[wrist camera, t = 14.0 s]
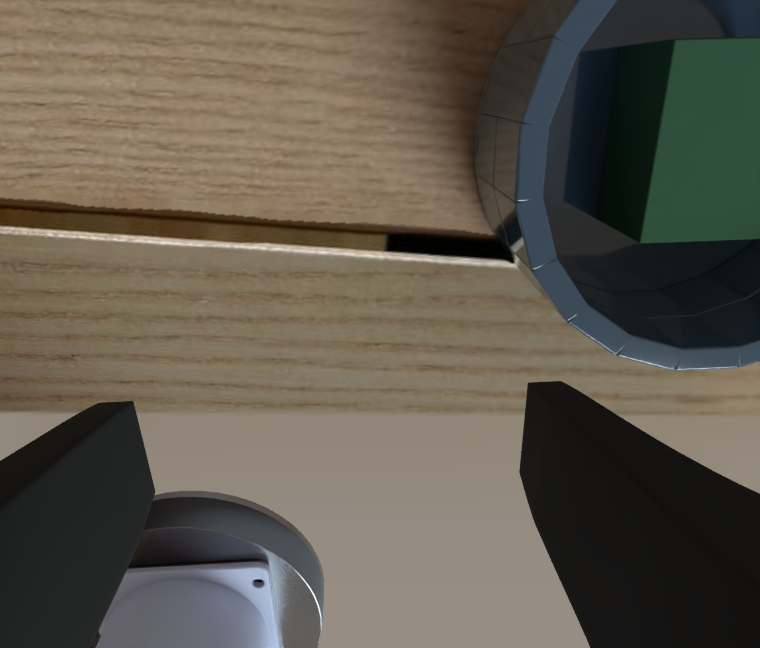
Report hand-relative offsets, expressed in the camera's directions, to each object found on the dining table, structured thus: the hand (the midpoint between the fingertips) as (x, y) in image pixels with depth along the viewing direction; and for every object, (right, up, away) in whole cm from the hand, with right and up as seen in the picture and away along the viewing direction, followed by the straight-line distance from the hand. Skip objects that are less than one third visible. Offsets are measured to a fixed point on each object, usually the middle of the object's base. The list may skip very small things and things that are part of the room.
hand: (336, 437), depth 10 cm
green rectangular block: (+9, +8, +7) cm, 14 cm away
